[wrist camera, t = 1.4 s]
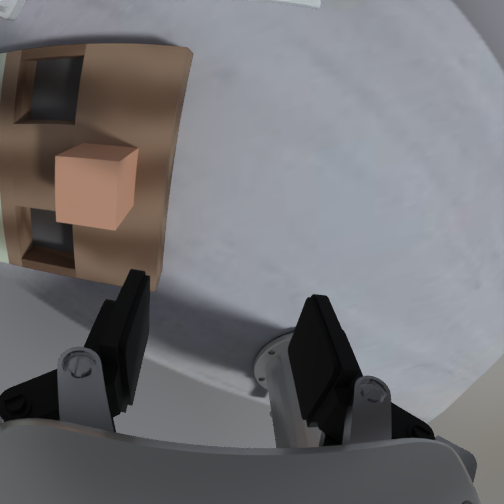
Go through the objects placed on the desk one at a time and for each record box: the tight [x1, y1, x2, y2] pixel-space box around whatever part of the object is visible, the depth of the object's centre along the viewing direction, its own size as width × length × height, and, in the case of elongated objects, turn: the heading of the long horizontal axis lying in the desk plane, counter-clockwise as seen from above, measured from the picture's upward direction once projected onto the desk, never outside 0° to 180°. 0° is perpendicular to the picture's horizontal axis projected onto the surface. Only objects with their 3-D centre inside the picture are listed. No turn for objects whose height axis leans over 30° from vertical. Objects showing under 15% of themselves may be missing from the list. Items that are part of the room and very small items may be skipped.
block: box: [55, 143, 139, 231], centre depth 22 cm, size 5×5×5 cm
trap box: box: [0, 43, 193, 292], centre depth 24 cm, size 22×25×6 cm
